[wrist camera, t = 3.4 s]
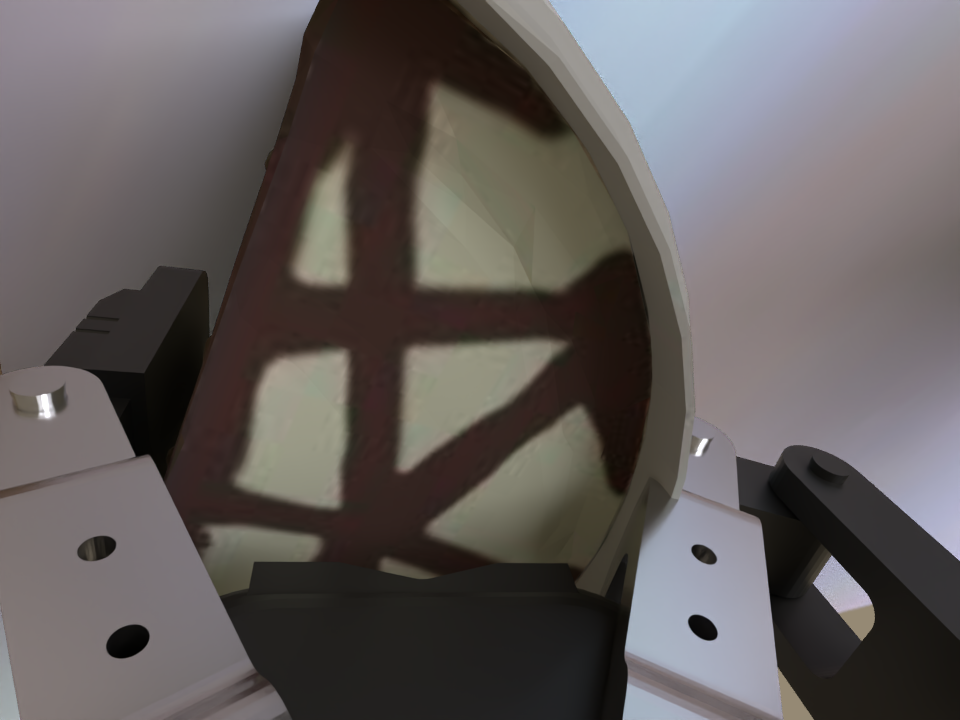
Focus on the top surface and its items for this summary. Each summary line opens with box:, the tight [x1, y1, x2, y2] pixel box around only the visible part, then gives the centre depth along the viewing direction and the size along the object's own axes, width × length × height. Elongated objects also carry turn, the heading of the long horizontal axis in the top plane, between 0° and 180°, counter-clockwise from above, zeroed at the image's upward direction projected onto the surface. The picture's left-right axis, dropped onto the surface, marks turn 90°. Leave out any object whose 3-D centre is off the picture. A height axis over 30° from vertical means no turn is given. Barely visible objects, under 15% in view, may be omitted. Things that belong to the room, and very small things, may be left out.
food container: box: [163, 0, 695, 596], centre depth 11 cm, size 12×6×10 cm, turn 153°
